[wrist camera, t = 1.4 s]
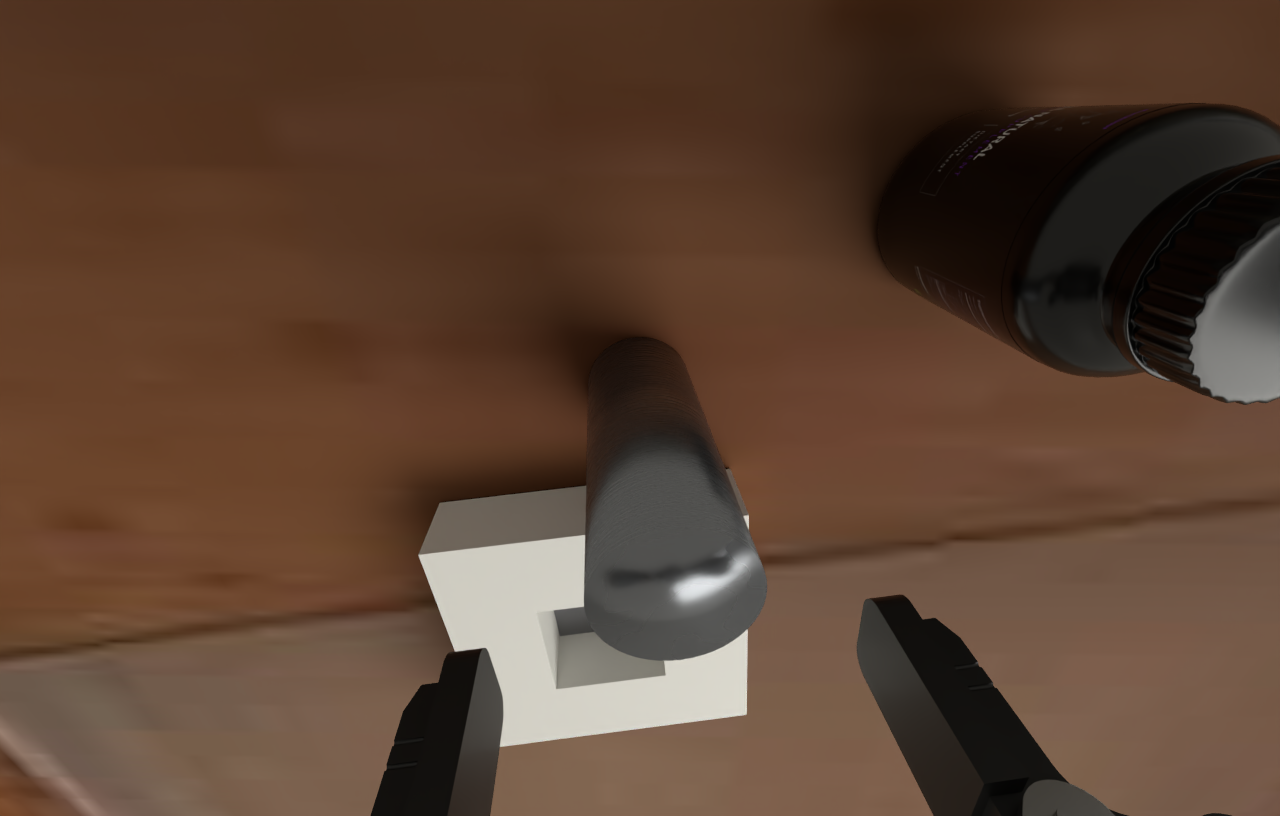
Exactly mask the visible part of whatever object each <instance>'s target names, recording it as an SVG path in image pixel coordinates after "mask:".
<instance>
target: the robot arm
mask: <svg viewBox="0 0 1280 816" xmlns="http://www.w3.org/2000/svg"><path fill="white" fill-rule="evenodd" d="M857 656H858V661H859V665H860V668H861V671H862V673H863V676H864V678H865V680H866V682H867V684H868V686H869V688H870V690H871V692H872V694H873V696H874V698H875V700H876V702H877V704H878V706H879V708H880V710H881V712H882V714H883V716H884V718H885V720H886V722H887V724H888V726H889V728H890V730H891V732H892V734H893V736H894V738H895V740H896V742H897V744H898V746H899V748H900V750H901V752H902V754H903V756H904V758H905V759H906V761H907V763H908V765H909V767H910V769H911V771H912V773H913V775H914V777H915V779H916V781H917V783H918V785H919V787H920V789H921V791H922V793H923V795H924V797H925V799H926V801H927V803H928V805H929V807H930V809H931V811H932V813H933V815H934V816H1127V815H1124V814H1120V813H1117V812H1115V811H1112V810H1109V809H1108V808H1107V807H1106V806H1105V805H1104V804H1103V803H1101V802H1100V801H1099V800H1097V799H1096V798H1095V797H1094V796H1092V795H1091V794H1089V793H1087V792H1086V791H1084V790H1082V789H1080V788H1078V787H1076V786H1074V785H1072V784H1070V783H1068V782H1067V781H1066V780H1065V779H1064V777H1063V776H1062V775H1061V774H1060V773H1059V772H1058V771H1057V770H1056V768H1055V767H1054V766H1053V765H1052V763H1051V762H1050V760H1049V759H1048V758H1047V756H1046V755H1045V754H1044V752H1043V751H1042V749H1041V748H1040V747H1039V745H1038V744H1037V743H1036V741H1035V740H1034V738H1033V737H1032V736H1031V734H1030V733H1029V732H1028V730H1027V729H1026V727H1025V726H1024V725H1023V723H1022V722H1021V721H1020V719H1019V718H1018V716H1017V715H1016V714H1015V712H1014V711H1013V710H1012V708H1011V707H1010V705H1009V704H1008V703H1007V701H1006V700H1005V699H1004V697H1003V696H1002V694H1001V693H1000V692H999V690H998V689H997V688H994V686H993V682H992V681H991V679H990V678H989V677H988V675H987V674H986V673H985V671H984V670H983V668H982V667H979V665H978V662H977V660H976V659H975V657H974V656H973V655H972V653H971V652H970V651H969V649H968V648H967V646H966V645H965V644H964V642H963V641H962V640H961V638H960V637H959V636H957V635H956V634H955V633H954V632H952V631H951V630H950V629H948V628H947V627H946V626H945V625H943V624H942V623H941V622H940V621H938V620H937V619H936V618H931V619H924V620H922V618H921V617H920V615H919V614H918V612H917V611H916V609H915V608H914V606H913V605H912V603H911V602H910V601H909V600H908V599H907V597H905V596H904V595H893V596H886V597H878V598H870V599H866V600H865V602H864V605H863V611H862V617H861V623H860V629H859V635H858V641H857ZM502 726H503V697H502V692H501V689H500V686H499V683H498V679H497V676H496V673H495V670H494V667H493V664H492V661H491V658H490V655H489V652H488V650H487V649H486V648H479V649H471V650H464V651H456V652H450V653H448V654H447V656H446V658H445V660H444V663H443V667H442V671H441V675H440V678H439V682H438V683H432V684H425V685H421V686H420V688H419V689H418V691H417V692H416V694H415V695H414V697H413V698H412V699H411V701H410V702H409V704H408V705H407V707H406V708H405V710H404V711H403V714H402V717H401V720H400V723H399V727H398V730H397V733H396V736H395V739H394V746H392V749H391V752H390V755H389V759H388V762H387V770H386V771H384V775H383V778H382V781H381V784H380V787H379V791H378V794H377V797H376V800H375V803H374V807H373V810H372V813H371V816H490V812H491V805H492V798H493V791H494V784H495V776H496V769H497V762H498V755H499V748H500V741H501V734H502ZM1203 816H1231V815H1226V814H1219V813H1211V814H1206V815H1203Z"/></svg>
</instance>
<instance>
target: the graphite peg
mask: <svg viewBox="0 0 1280 816" xmlns="http://www.w3.org/2000/svg"><path fill="white" fill-rule="evenodd" d="M766 593H767V579H766V575H765V571H764V569H763V566H762V564H761V561H760V558H759V556H758V553H757V550H756V548H755V545H754V543H753V540H752V537H751V535H750V532H749V530H748V527H747V524H746V522H745V519H744V517H743V514H742V511H741V509H740V506H739V504H738V501H737V498H736V496H735V493H734V491H733V488H732V485H731V483H730V480H729V478H728V475H727V472H726V470H725V467H724V464H723V462H722V459H721V457H720V454H719V451H718V449H717V446H716V444H715V441H714V438H713V436H712V433H711V431H710V428H709V425H708V423H707V420H706V418H705V415H704V412H703V410H702V407H701V405H700V402H699V399H698V397H697V394H696V392H695V389H694V386H693V384H692V381H691V378H690V376H689V373H688V371H687V368H686V366H685V363H684V361H683V360H682V358H681V357H680V355H679V354H678V353H677V352H676V351H675V350H674V349H673V348H671V347H670V346H668V345H667V344H665V343H663V342H661V341H658V340H655V339H651V338H644V337H637V338H629V339H625V340H622V341H619V342H617V343H615V344H613V345H611V346H610V347H608V348H607V349H606V350H605V351H603V352H602V353H601V354H600V355H599V357H598V358H597V359H596V361H595V362H594V364H593V366H592V369H591V371H590V375H589V381H588V421H587V469H586V518H585V566H584V610H585V614H586V617H587V620H588V622H589V624H590V626H591V628H592V629H593V630H594V632H595V633H596V634H597V635H598V636H599V637H600V638H601V639H602V640H603V641H604V642H605V643H607V644H608V645H609V646H611V647H613V648H614V649H616V650H618V651H620V652H622V653H625V654H627V655H630V656H634V657H637V658H642V659H647V660H657V661H673V660H683V659H689V658H694V657H697V656H701V655H704V654H707V653H710V652H713V651H715V650H717V649H719V648H722V647H724V646H725V645H727V644H729V643H730V642H732V641H733V640H735V639H736V638H738V637H739V636H740V635H741V634H743V633H744V632H745V631H746V630H747V629H748V628H749V627H750V626H751V625H752V623H753V622H754V621H755V620H756V618H757V617H758V615H759V614H760V611H761V609H762V607H763V605H764V602H765V598H766Z"/></svg>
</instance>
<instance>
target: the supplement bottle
mask: <svg viewBox="0 0 1280 816" xmlns="http://www.w3.org/2000/svg"><path fill="white" fill-rule="evenodd" d="M878 243H879V248H880V252H881V255H882V258H883V260H884V262H885V264H886V266H887V268H888V269H889V271H890V272H891V274H892V275H893V276H894V277H895V278H896V279H897V280H898V281H899V282H900V283H901V284H902V285H904V286H905V287H906V288H908V289H909V290H911V291H913V292H914V293H916V294H918V295H919V296H921V297H923V298H924V299H926V300H928V301H930V302H931V303H933V304H935V305H937V306H939V307H940V308H942V309H944V310H946V311H948V312H949V313H951V314H953V315H955V316H957V317H958V318H960V319H962V320H964V321H966V322H967V323H969V324H971V325H973V326H975V327H976V328H978V329H980V330H982V331H984V332H985V333H987V334H989V335H991V336H993V337H994V338H996V339H998V340H1000V341H1002V342H1003V343H1005V344H1007V345H1009V346H1011V347H1012V348H1014V349H1016V350H1018V351H1020V352H1021V353H1023V354H1025V355H1027V356H1029V357H1030V358H1032V359H1034V360H1036V361H1038V362H1040V363H1042V364H1044V365H1046V366H1049V367H1051V368H1053V369H1055V370H1058V371H1061V372H1064V373H1067V374H1072V375H1077V376H1084V377H1118V376H1126V375H1132V374H1137V373H1142V372H1146V373H1148V374H1150V375H1152V376H1154V377H1157V378H1159V379H1162V380H1166V381H1170V382H1175V383H1178V384H1180V385H1182V386H1184V387H1186V388H1189V389H1191V390H1193V391H1195V392H1197V393H1200V394H1202V395H1205V396H1209V397H1211V398H1213V399H1216V400H1218V401H1221V402H1225V403H1231V402H1236V403H1239V404H1243V405H1247V404H1251V403H1254V402H1261V403H1268V402H1271V401H1273V400H1275V399H1278V398H1280V126H1278V125H1277V124H1276V123H1274V122H1273V121H1271V120H1270V119H1268V118H1267V117H1265V116H1263V115H1261V114H1259V113H1256V112H1254V111H1252V110H1249V109H1245V108H1241V107H1238V106H1233V105H1225V104H1206V103H1177V104H1141V105H1105V106H1070V107H1034V108H1007V109H991V110H983V111H978V112H973V113H969V114H966V115H963V116H960V117H958V118H956V119H953V120H951V121H949V122H947V123H946V124H944V125H942V126H940V127H939V128H937V129H936V130H934V131H933V132H931V133H930V134H929V135H927V136H926V137H925V138H924V139H922V140H921V141H920V142H919V143H918V144H917V145H916V146H915V147H914V148H913V149H912V150H911V151H910V152H909V153H908V155H907V156H906V157H905V158H904V160H903V161H902V162H901V164H900V165H899V167H898V168H897V170H896V171H895V173H894V175H893V176H892V178H891V180H890V182H889V184H888V186H887V188H886V191H885V194H884V196H883V199H882V203H881V206H880V211H879V217H878Z"/></svg>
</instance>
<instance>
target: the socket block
mask: <svg viewBox="0 0 1280 816" xmlns="http://www.w3.org/2000/svg"><path fill="white" fill-rule="evenodd" d="M725 470H726V472H727V475H728V478H729V480H730V483H731V485H732V488H733V491H734V493H735V496H736V498H737V501H738V504H739V506H740V509H741V511H742V514H743V517H744V519H745V522H746V524H747V527H748V530H749V515H748V512H747V510H746V507H745V505H744V502H743V500H742V497H741V495H740V492H739V490H738V487H737V484H736V482H735V479H734V477H733V474H732V472H731V469H725ZM585 518H586V486H579V487H570V488H562V489H553V490H545V491H536V492H528V493H519V494H511V495H502V496H494V497H485V498H477V499H468V500H460V501H451V502H443V503H439V506H438V508H437V511H436V513H435V515H434V518H433V520H432V523H431V525H430V528H429V530H428V533H427V535H426V537H425V540H424V542H423V545H422V547H421V550H420V552H419V558H420V561H421V563H422V566H423V569H424V571H425V574H426V576H427V579H428V582H429V584H430V587H431V590H432V592H433V595H434V598H435V600H436V603H437V605H438V608H439V611H440V613H441V616H442V619H443V621H444V624H445V626H446V629H447V632H448V634H449V637H450V640H451V642H452V645H453V648H454V650H455V652H456V651H464V650H471V649H479V648H486V649H487V650H488V652H489V655H490V658H491V661H492V664H493V667H494V670H495V673H496V676H497V679H498V683H499V686H500V689H501V692H502V697H503V726H502V734H501V741H500V747H502V746H510V745H518V744H525V743H533V742H541V741H548V740H556V739H564V738H571V737H579V736H587V735H595V734H602V733H610V732H618V731H625V730H633V729H641V728H648V727H656V726H664V725H672V724H679V723H687V722H695V721H702V720H710V719H718V718H725V717H733V716H741V715H747V631H748V629H747V630H746V631H745V632H744V633H743V634H741V635H740V636H739V637H738V638H736V639H735V640H733V641H732V642H730V643H729V644H727V645H725V646H724V647H722V648H719V649H717V650H715V651H713V652H710V653H707V654H704V655H701V656H697V657H694V658H689V659H683V660H673V661H657V660H647V659H642V658H637V657H634V656H630V655H627V654H625V653H622V652H620V651H618V650H616V649H614V648H613V647H611V646H609V645H608V644H607V643H605V642H604V641H603V640H602V639H601V638H600V637H599V636H598V635H597V634H596V633H595V632H594V630H593V629H592V628H591V626H590V624H589V622H588V620H587V617H586V614H585V610H584V566H585Z"/></svg>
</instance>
